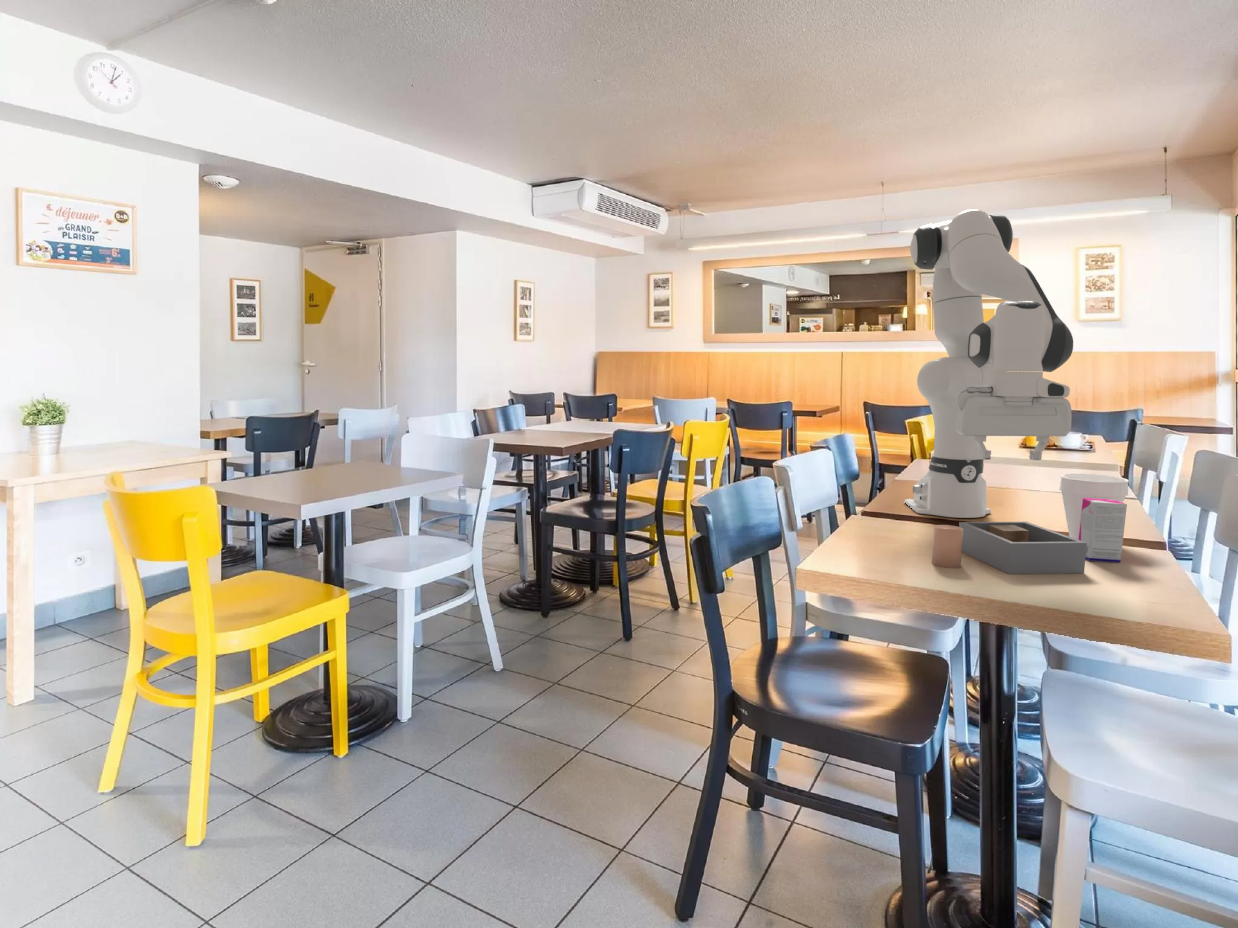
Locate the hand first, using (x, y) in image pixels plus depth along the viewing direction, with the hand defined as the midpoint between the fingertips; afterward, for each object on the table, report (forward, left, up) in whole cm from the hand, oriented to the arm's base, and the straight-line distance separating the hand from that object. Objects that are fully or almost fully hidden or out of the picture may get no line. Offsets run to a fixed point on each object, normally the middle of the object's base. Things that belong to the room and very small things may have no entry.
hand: (1009, 459), depth 142 cm
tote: (+3, +1, -19) cm, 19 cm away
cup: (-12, +26, -19) cm, 35 cm away
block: (-1, +1, -19) cm, 19 cm away
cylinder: (+5, -14, -19) cm, 24 cm away
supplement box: (+2, +18, -19) cm, 27 cm away
